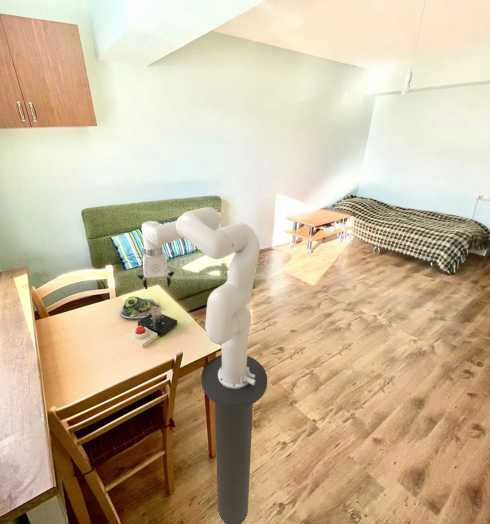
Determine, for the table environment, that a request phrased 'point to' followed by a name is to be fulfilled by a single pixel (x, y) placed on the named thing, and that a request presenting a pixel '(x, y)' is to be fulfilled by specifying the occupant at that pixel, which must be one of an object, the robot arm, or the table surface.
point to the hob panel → (160, 327)
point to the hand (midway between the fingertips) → (157, 286)
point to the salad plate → (137, 308)
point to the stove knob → (156, 316)
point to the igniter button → (140, 330)
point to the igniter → (142, 337)
